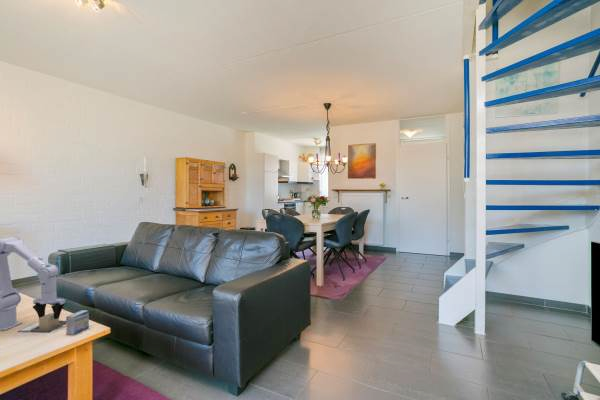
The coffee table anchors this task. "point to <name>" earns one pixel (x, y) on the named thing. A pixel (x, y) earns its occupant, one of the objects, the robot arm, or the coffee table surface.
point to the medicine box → (77, 322)
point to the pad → (29, 327)
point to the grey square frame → (48, 329)
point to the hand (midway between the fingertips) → (49, 318)
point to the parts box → (48, 321)
